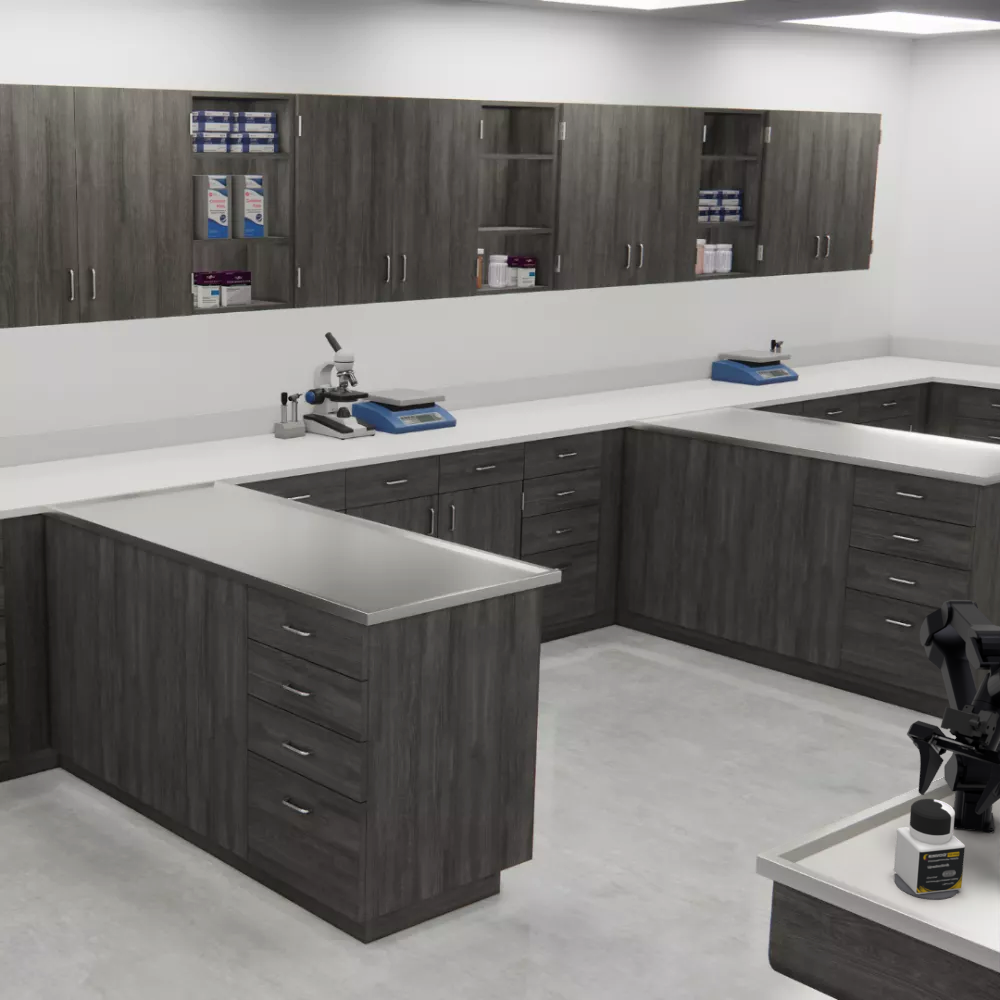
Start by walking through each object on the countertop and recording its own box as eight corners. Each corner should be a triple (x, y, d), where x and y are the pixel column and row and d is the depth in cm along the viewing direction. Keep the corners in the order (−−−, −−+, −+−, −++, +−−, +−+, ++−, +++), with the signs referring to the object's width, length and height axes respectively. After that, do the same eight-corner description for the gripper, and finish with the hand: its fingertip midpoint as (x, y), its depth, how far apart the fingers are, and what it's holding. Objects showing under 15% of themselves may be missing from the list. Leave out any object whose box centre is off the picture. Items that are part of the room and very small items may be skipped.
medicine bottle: (916, 895, 205) (922, 818, 202) (892, 871, 212) (898, 796, 209) (962, 890, 207) (968, 813, 204) (937, 866, 213) (943, 791, 210)
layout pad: (894, 864, 214) (895, 862, 214) (958, 872, 212) (958, 870, 212) (893, 894, 206) (894, 892, 206) (959, 903, 204) (960, 901, 204)
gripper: (915, 669, 216) (871, 761, 211) (1031, 701, 202) (987, 800, 198) (942, 703, 223) (900, 792, 218) (1057, 736, 209) (1015, 832, 205)
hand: (948, 803), depth 210 cm, fingers open, 9 cm apart
